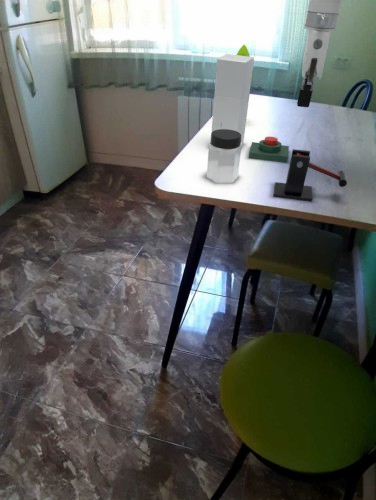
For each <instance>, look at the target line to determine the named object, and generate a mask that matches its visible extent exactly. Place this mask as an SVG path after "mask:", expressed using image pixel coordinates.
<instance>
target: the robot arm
mask: <svg viewBox="0 0 376 500" xmlns="http://www.w3.org/2000/svg"><path fill="white" fill-rule="evenodd" d="M342 4H343V0H308V6H307V10H306V15H305V19H304V20H305V21H304V26H303V29H305V30H308V31H307V35H306V40H305V44H304V45H305V46H304V50H303V57H302V65H301V76H302V81H301V85H300V89H299V92H298V97H297V102H296V106H297V107H298V108H299V107H300V108H309V107H310V105H311V99H312V95H313V88H314V85H315V80H316V78H318V79H317V80H321V79H323V78H322V77H323V73H324V67H325V64H326V58H327V54H328V50H329V49H328V48H329V43H330V40H331V39H330V38H331V33H332V32H336V29H337V26H338V25H337V24H338V21H339V17H340V11H341V8H342Z"/></svg>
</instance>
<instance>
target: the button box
mask: <svg viewBox="0 0 376 500" xmlns="http://www.w3.org/2000/svg"><path fill="white" fill-rule="evenodd" d="M264 141H265V139H262V140H259V142H255V141H251V145H250V149H249V152H248V159H250V160H259V161H260V160H261V161H268V162H278V163H284V164H285V163H286V164H287V163H288V160H289V151H290V146H289V145H285V144H284V145H283V144H282V142H280V141H279V140H278V141H277V145H276V146H269V145H265V144H264Z"/></svg>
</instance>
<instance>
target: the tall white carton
mask: <svg viewBox="0 0 376 500" xmlns="http://www.w3.org/2000/svg"><path fill="white" fill-rule="evenodd" d="M254 61H255V57H254V56H250V57H248V56H240V55H237V54H231V53H225V54H224V55H222V56H221V55H220V57H218V58H216V70H215V80H214V81H215V83H214V94H213V106H212V119H211V133H212V132H213V131H215V130H219V129H228V130H234V131H237V132H239V133H240V134H241V145H242V146H243V145H244V141H245V133H246V125H247V117H248V110H249V101H250V93H251V85H252V79H253V77H252V72H253V68H254ZM211 133H210V134H211Z"/></svg>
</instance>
